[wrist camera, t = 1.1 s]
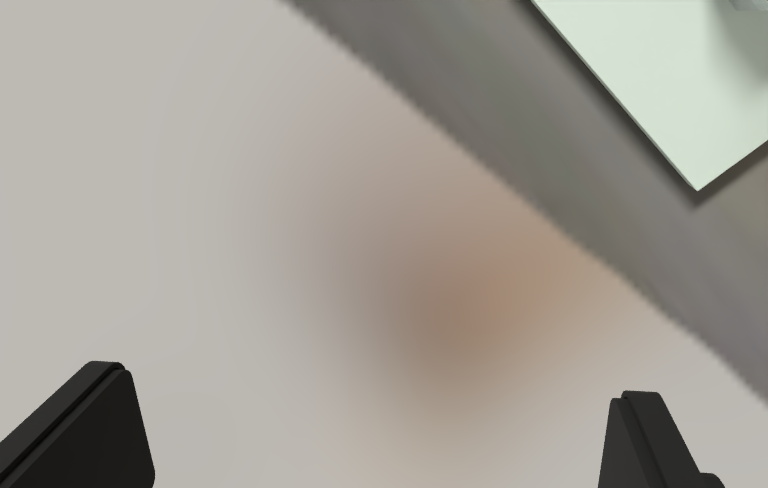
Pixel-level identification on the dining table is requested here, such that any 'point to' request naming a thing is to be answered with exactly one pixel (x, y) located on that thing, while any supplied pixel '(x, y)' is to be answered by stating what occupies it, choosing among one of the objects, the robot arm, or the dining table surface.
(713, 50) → the post board
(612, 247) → the dining table surface
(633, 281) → the dining table surface
